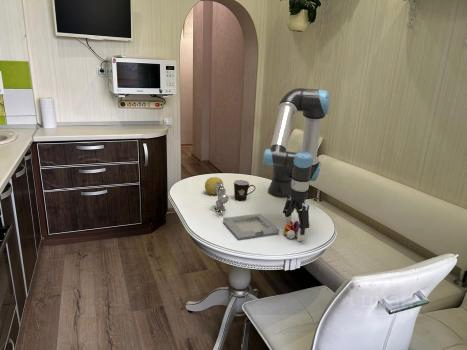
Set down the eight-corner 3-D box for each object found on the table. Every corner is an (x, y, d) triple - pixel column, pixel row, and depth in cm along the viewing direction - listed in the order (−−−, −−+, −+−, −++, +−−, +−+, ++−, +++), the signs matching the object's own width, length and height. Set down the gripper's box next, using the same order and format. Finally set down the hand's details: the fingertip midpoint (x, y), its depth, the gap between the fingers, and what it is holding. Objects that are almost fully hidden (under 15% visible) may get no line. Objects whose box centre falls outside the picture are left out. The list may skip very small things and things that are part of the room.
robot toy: (229, 217, 173) (231, 188, 169) (217, 217, 172) (219, 188, 167) (223, 205, 187) (225, 178, 183) (212, 205, 186) (213, 179, 181)
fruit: (225, 193, 205) (226, 176, 202) (215, 198, 197) (216, 181, 194) (211, 189, 210) (212, 173, 207) (200, 193, 202) (201, 177, 199)
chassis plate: (260, 218, 175) (260, 213, 174) (278, 234, 159) (279, 229, 158) (222, 222, 167) (223, 217, 166) (238, 240, 151) (238, 235, 150)
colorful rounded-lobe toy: (281, 231, 162) (282, 216, 160) (301, 231, 163) (303, 217, 161) (285, 240, 154) (287, 225, 152) (306, 240, 155) (308, 225, 153)
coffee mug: (230, 200, 195) (231, 183, 192) (236, 195, 203) (237, 179, 200) (249, 204, 191) (251, 187, 188) (255, 199, 199) (256, 182, 196)
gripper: (278, 181, 160) (273, 225, 167) (307, 199, 141) (300, 248, 147) (292, 180, 163) (287, 223, 170) (322, 197, 144) (315, 245, 150)
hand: (293, 235), depth 159 cm, fingers open, 10 cm apart
